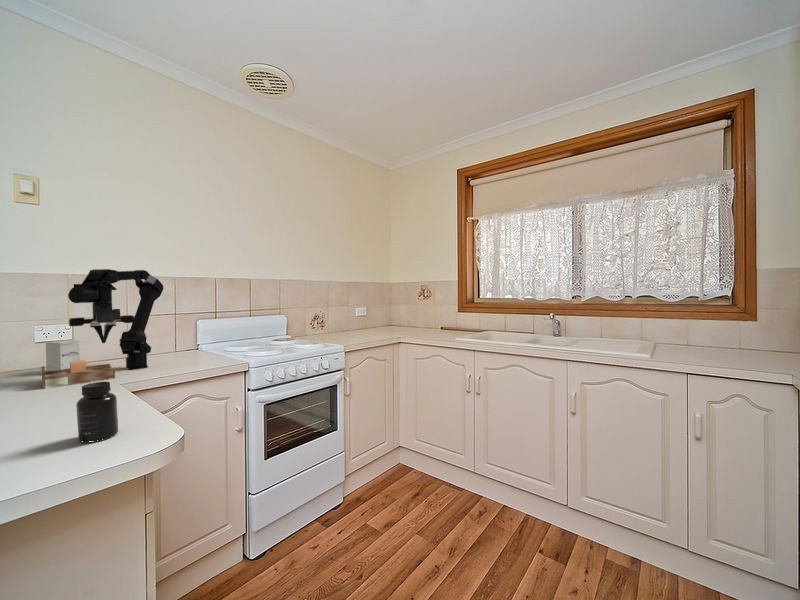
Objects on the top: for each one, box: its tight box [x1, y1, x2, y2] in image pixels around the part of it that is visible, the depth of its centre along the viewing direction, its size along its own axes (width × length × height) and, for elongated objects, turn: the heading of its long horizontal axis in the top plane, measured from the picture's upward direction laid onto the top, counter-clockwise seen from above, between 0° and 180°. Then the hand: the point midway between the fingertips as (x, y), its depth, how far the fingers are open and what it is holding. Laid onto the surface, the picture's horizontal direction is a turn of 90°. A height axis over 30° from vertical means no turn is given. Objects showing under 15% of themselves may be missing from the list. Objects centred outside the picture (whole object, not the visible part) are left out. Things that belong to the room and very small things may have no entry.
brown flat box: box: [41, 363, 116, 390], centre depth 128 cm, size 19×11×6 cm, turn 137°
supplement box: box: [45, 339, 81, 372], centre depth 143 cm, size 7×7×13 cm
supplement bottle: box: [76, 381, 119, 442], centre depth 78 cm, size 7×7×12 cm
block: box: [70, 360, 87, 373], centre depth 128 cm, size 4×4×4 cm
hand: (103, 343), depth 133 cm, fingers closed
